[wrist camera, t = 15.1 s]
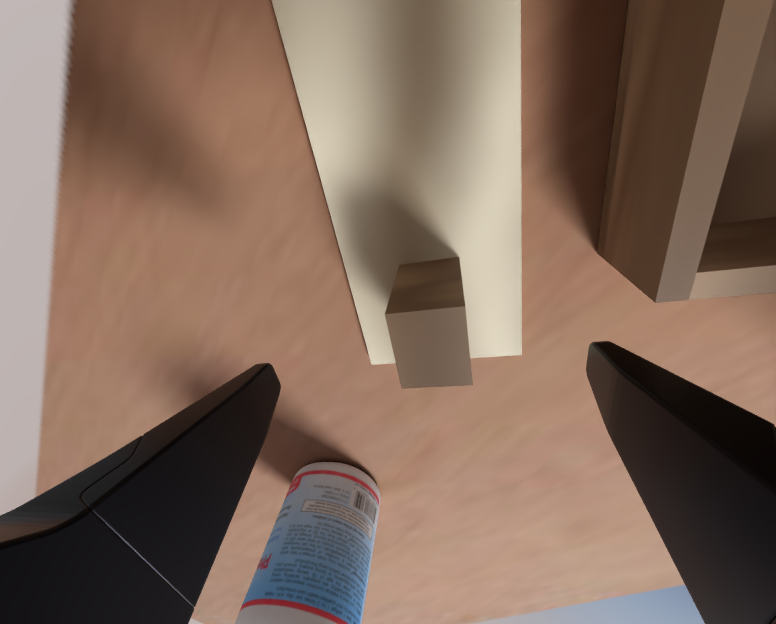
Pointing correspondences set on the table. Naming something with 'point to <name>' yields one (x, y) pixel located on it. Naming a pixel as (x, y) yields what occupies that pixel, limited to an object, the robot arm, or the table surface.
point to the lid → (419, 170)
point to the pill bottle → (317, 550)
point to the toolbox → (694, 150)
